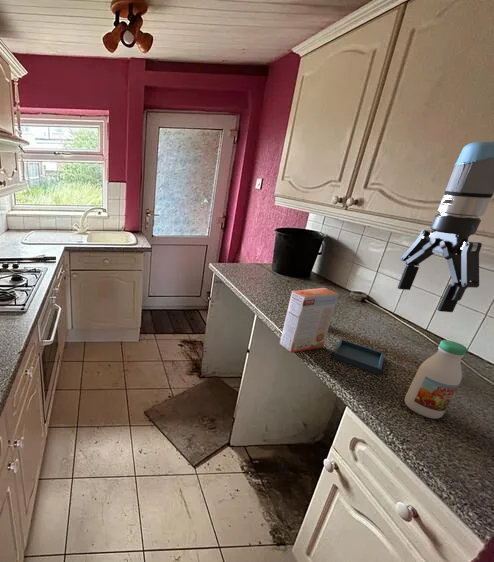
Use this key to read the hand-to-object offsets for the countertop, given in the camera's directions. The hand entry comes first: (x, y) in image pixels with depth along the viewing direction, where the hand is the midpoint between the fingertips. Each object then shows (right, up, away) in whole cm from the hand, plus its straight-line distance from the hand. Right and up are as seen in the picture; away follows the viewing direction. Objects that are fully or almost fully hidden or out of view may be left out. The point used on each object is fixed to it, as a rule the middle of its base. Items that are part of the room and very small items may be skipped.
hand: (422, 299), depth 79 cm
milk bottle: (+4, -30, +4) cm, 30 cm away
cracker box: (-13, -18, +31) cm, 38 cm away
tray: (+3, -21, +25) cm, 33 cm away
